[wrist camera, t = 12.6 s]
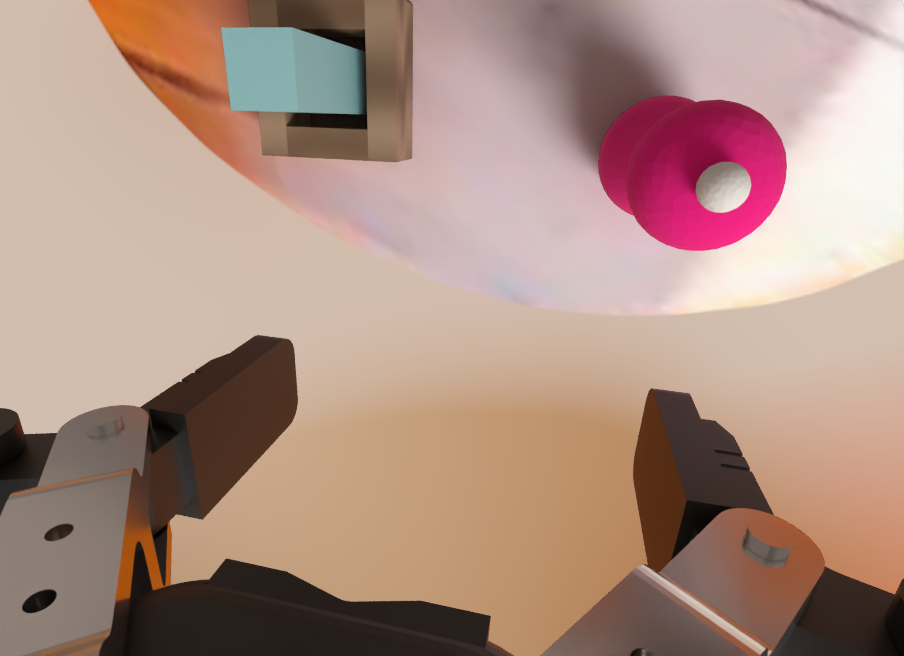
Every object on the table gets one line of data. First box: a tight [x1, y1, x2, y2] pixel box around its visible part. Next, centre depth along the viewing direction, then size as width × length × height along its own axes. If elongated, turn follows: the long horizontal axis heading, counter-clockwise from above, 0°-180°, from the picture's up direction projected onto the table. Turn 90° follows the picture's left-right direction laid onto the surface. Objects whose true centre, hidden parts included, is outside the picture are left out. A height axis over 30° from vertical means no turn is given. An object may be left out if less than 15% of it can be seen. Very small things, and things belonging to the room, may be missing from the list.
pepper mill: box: [598, 96, 787, 251], centre depth 27 cm, size 7×7×20 cm
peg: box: [221, 27, 367, 114], centre depth 33 cm, size 4×4×12 cm
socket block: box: [248, 0, 413, 162], centre depth 37 cm, size 10×10×4 cm
